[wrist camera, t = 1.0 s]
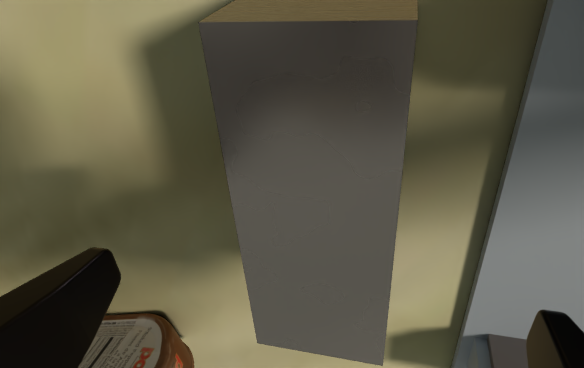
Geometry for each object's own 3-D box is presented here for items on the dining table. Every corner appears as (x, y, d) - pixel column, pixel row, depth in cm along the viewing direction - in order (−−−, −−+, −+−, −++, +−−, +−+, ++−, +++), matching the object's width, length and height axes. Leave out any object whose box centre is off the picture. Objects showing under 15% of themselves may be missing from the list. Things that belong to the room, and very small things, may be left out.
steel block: (417, -32, 12) (417, 19, 7) (392, 235, 17) (382, 365, 13) (280, -27, 13) (198, 22, 8) (298, 225, 18) (257, 343, 13)
